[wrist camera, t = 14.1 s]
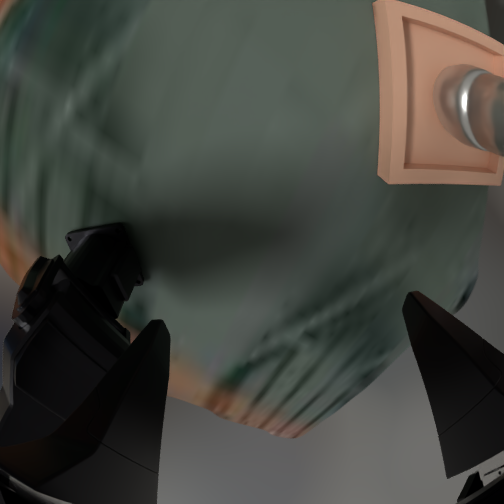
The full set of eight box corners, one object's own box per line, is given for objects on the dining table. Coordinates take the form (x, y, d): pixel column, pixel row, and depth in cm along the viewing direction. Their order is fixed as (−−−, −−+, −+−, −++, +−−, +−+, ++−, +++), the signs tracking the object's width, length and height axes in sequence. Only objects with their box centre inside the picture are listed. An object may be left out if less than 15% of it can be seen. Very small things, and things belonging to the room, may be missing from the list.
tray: (377, 174, 20) (388, 184, 18) (372, 3, 12) (384, -3, 10) (488, 177, 19) (500, 186, 18) (495, 46, 11) (509, 48, 10)
